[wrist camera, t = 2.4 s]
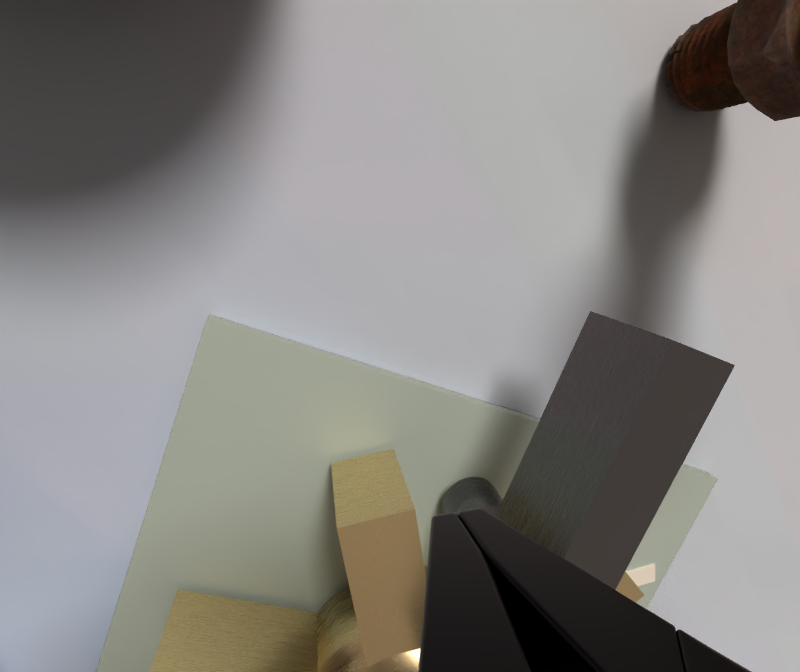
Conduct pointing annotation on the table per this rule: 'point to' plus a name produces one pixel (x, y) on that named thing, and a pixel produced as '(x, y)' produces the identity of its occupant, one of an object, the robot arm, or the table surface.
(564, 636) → the robot arm
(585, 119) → the table surface
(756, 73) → the bolt
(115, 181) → the table surface
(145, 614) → the base plate
